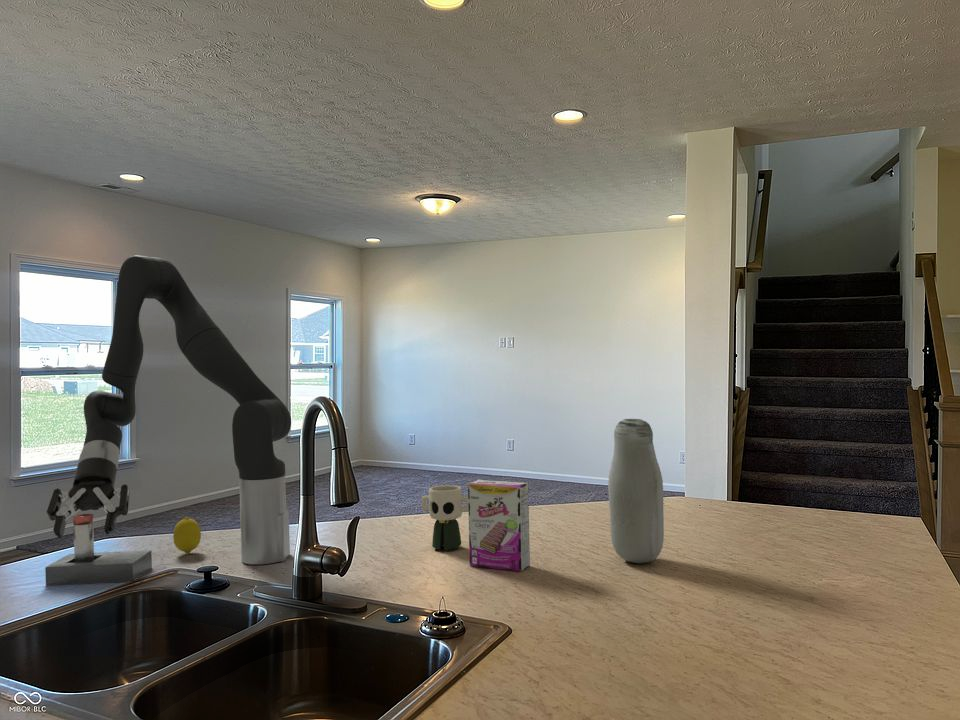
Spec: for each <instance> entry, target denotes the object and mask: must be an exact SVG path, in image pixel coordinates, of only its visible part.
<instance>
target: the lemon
mask: <svg viewBox="0 0 960 720" xmlns="http://www.w3.org/2000/svg"><path fill="white" fill-rule="evenodd" d="M172 536H173V543H174V546H175V547H176V548H177V549H178V550H179V551H181V552H183V553H184V554H187V555H189V554H191V552H192V551H193V550H195V549H196V548H198V546H199V544H200V542H201V540H202V539H201V538H202V531H201V528H200V525H199V523H198V522H197V521H196V520H195V519H193V518H190V517H189V516H185V517H183V519H181V520H180V521H178V522H177V523H176V525H175V526H174V530H173V535H172Z"/></svg>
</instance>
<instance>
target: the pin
mask: <svg viewBox="0 0 960 720" xmlns="http://www.w3.org/2000/svg"><path fill="white" fill-rule="evenodd" d="M72 516H73V517H72V519H73V520H72V523H73V525H72V526H73V552H74V553H73V554H74V559H75V563H80V562H92V561H94V553H95V536H94V534H95V533H94V514H92V513H82V514H77V515H76V514H75V515H72Z"/></svg>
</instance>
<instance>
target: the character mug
mask: <svg viewBox="0 0 960 720" xmlns="http://www.w3.org/2000/svg"><path fill="white" fill-rule="evenodd" d="M427 501H428V506H427ZM463 502H465V507H463ZM421 509H422V511H424V512H429V517H430V518H431V519H433V520H435V522H434V525H433V533H432V542H431V543H432V544H431V545H432V548H433V549H436V550H437V549H438V550H441V549H442V548H443V547H444V548H443V549H444V550H445V551H446V550H454V549H458V548H459V547H460V546H461V545H462V537H461V531H460V525H459V522H458V520H457V519H459V518H461V517H462V515H463V513H469V506H468V496H463V491H462V486H459V485H455V484H454V485H452V484H451V485H449V484H448V485H447V484H445V485H436V486H431V487H429V489H428V495H422V496H421Z"/></svg>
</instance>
